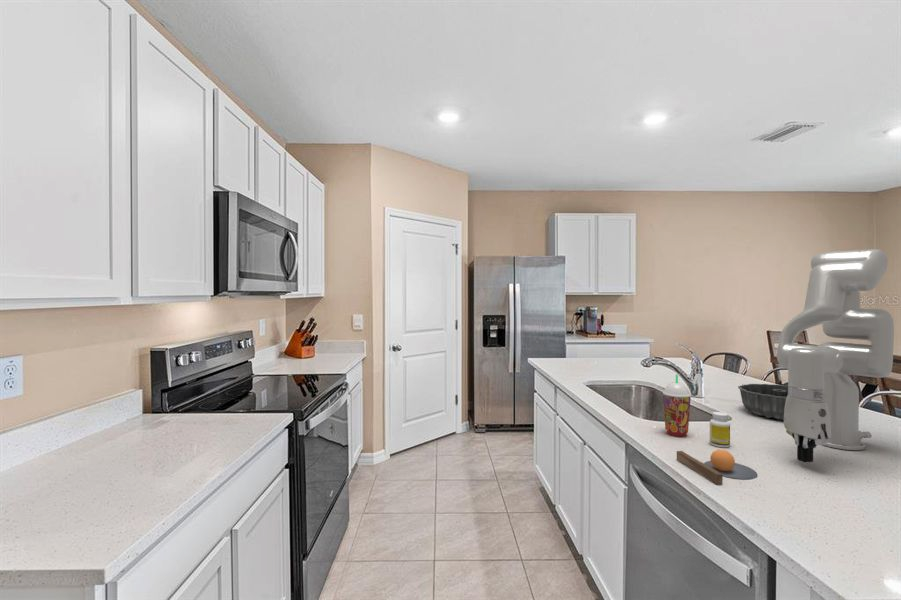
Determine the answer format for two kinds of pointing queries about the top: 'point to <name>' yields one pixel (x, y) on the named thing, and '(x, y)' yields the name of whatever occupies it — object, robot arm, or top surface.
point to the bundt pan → (765, 399)
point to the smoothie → (676, 409)
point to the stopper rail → (700, 468)
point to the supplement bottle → (720, 430)
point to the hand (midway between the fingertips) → (805, 460)
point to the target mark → (736, 471)
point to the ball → (722, 460)
